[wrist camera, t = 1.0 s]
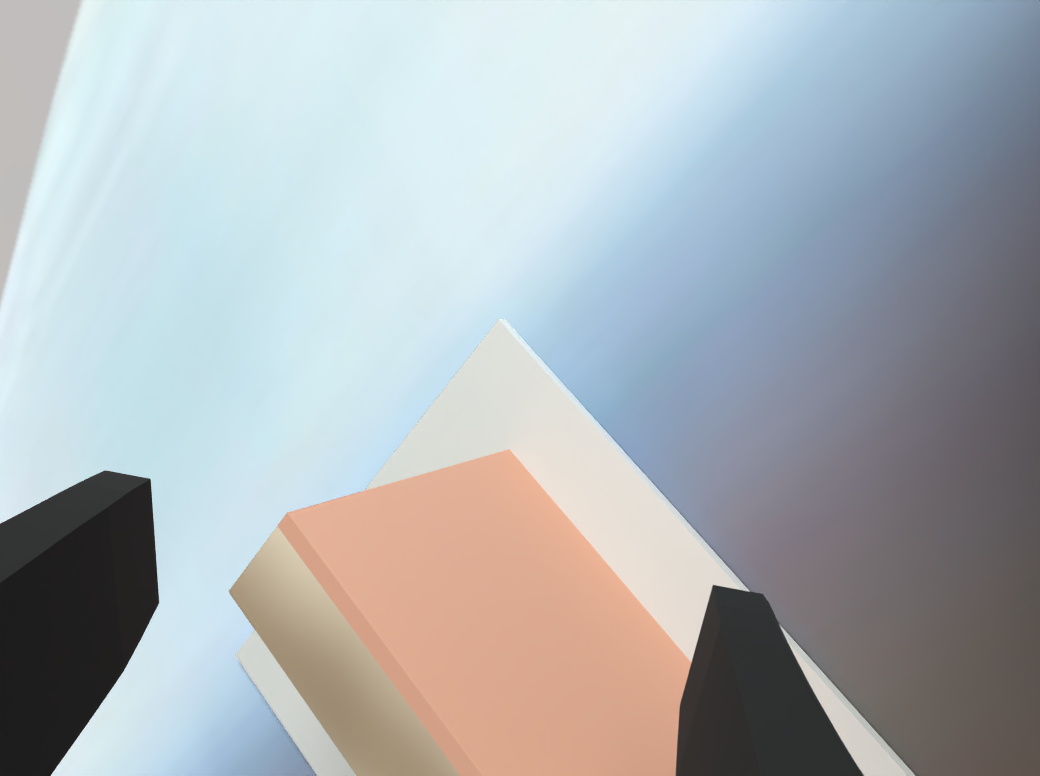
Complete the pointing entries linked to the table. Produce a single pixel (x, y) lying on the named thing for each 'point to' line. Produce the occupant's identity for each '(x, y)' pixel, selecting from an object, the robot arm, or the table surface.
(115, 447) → the table surface
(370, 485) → the rubber mat
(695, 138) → the table surface
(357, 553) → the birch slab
